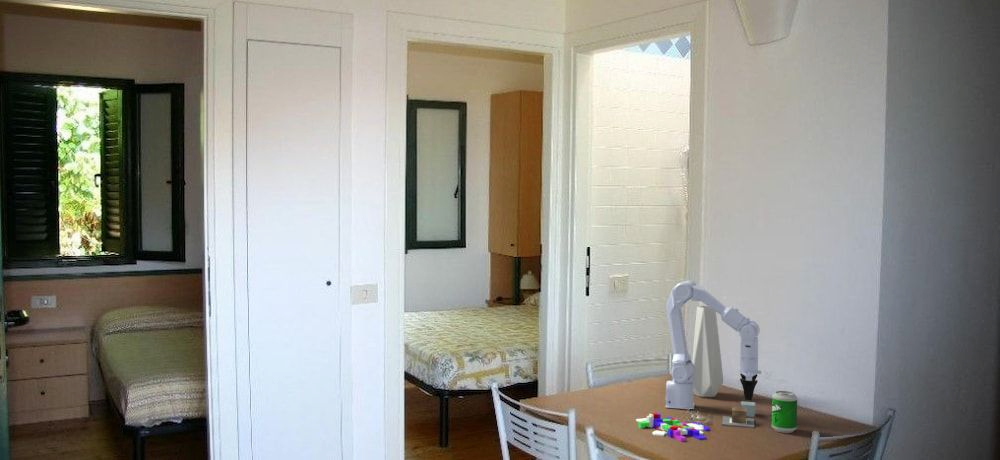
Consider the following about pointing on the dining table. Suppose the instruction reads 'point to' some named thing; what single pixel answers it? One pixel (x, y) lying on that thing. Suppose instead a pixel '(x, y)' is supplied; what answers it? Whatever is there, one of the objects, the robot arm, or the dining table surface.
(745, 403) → the pale grey cube
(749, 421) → the grey flat square plate
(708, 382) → the vase
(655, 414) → the building block set
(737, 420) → the walnut block
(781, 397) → the soda can
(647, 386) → the dining table surface
